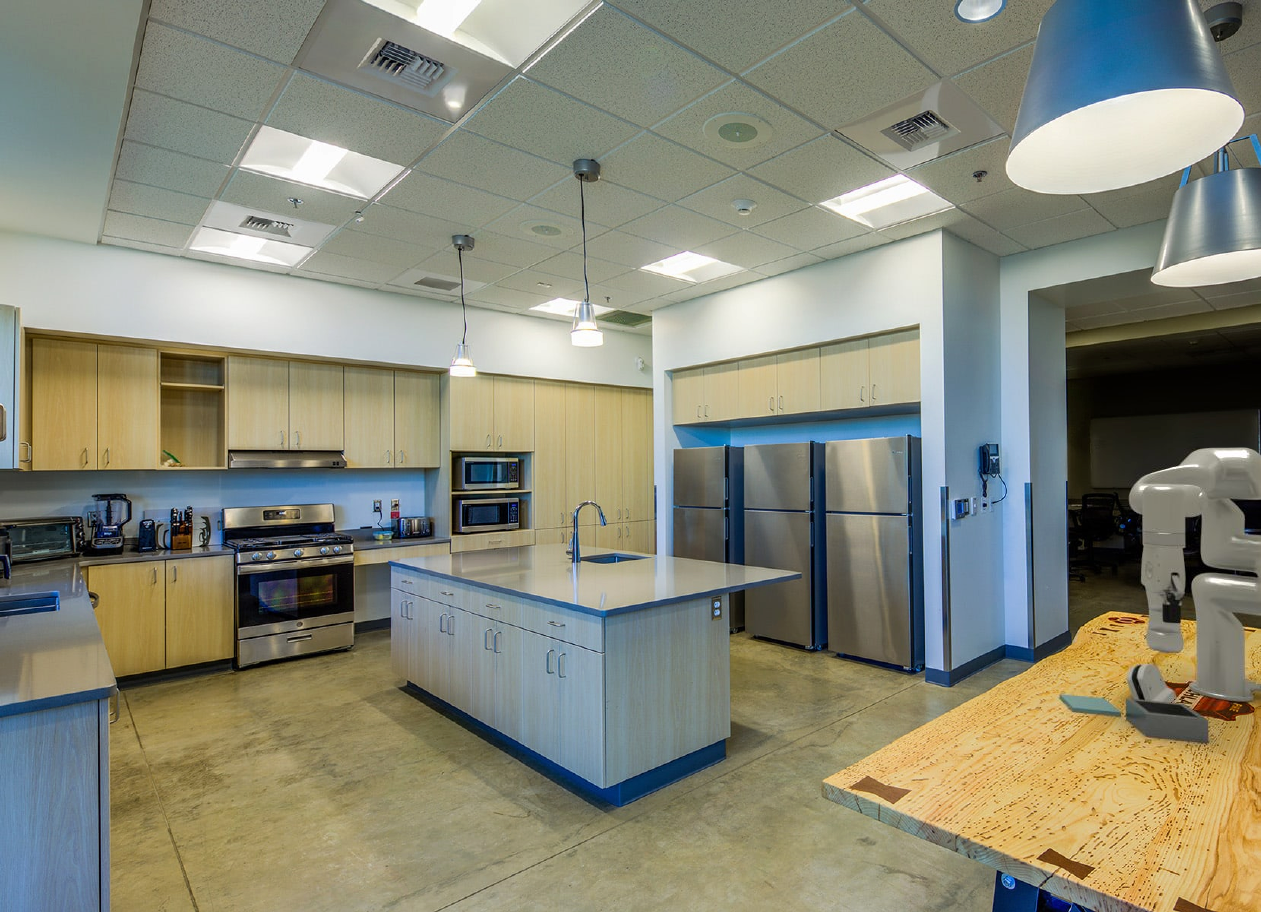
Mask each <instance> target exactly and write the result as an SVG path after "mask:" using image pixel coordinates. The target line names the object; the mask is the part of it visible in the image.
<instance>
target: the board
mask: <svg viewBox="0 0 1261 912" xmlns="http://www.w3.org/2000/svg"><path fill="white" fill-rule="evenodd" d="M1058 695H1059V699H1060V700H1061V701H1062V702H1063V703H1064V704H1065V705H1066V706H1067V708H1069V709H1070V710H1071V711H1072V712H1074V713H1080V714H1081V713H1082V714H1091V715H1092V714H1093V715H1100V716H1102V715H1103V716H1111V717H1120V718H1121V717H1122V712H1121V711H1120V710H1119V708H1117V707H1115V705H1113V704H1112V703H1111V702H1110V701H1108V700H1107V699H1106V698H1103V697H1097V696H1096V697H1094V696H1093V697H1091V696H1084V695H1083V696H1082V695H1073V694H1064V693H1063V694H1062V693H1061V694H1060V693H1059V694H1058Z"/></svg>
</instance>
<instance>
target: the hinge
mask: <svg viewBox="0 0 1261 912" xmlns="http://www.w3.org/2000/svg"><path fill="white" fill-rule="evenodd" d="M1125 679H1126V682H1127V685H1128V688H1129V691H1130V693H1131V696H1132V699H1139V700H1150V701H1160V702H1172V703H1174V701H1175V700H1176V699H1177V695H1176V692H1175V690H1174V689H1171V688H1169V687H1168V686H1167V684H1166V682H1165V680H1164V678H1163V675H1162V673H1161V670H1160V668H1159V667H1158V666H1157V665H1156V664H1153V663H1143V664H1136V665H1133V666H1130V668H1129V669H1128V671H1127V673H1126V677H1125ZM1174 699H1175V700H1174Z"/></svg>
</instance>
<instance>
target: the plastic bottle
mask: <svg viewBox="0 0 1261 912" xmlns="http://www.w3.org/2000/svg"><path fill="white" fill-rule="evenodd" d="M1144 587H1145V593H1146V597H1147V604H1148V606H1147V607H1149V611H1148V623H1147V625H1148V626H1147V630H1146V634H1145V640H1146V644H1147V646H1148V647H1149V649H1150V650H1153V651H1157V652H1160V653H1164V654H1179V653H1181V652H1182V651H1183V649H1184V645H1185V644H1184V643H1185V642H1184V636H1183V634H1182V629H1181V623H1165V622H1163V609H1162V604H1165V603H1164V597H1163V591H1156V590H1154V589H1153V586H1152V583H1151V582H1150V581H1149V580H1148V581H1147V582H1146V585H1145V586H1144ZM1166 590H1172V591H1174V588H1167V589H1166ZM1168 596H1169V597H1170V596H1171V594H1168Z"/></svg>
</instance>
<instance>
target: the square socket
mask: <svg viewBox="0 0 1261 912" xmlns="http://www.w3.org/2000/svg"><path fill="white" fill-rule="evenodd" d="M1125 720H1126V721H1127V722H1128V723H1129V724H1130V725H1131V726H1133V727H1134V728H1135V729H1137V730H1138V732H1140V733H1141V734H1142V735H1143V736H1145V737H1146V738H1154V739H1162V740H1163V739H1164V740H1174V741H1181V742H1191V743H1199V744H1200V743H1202V744H1209V719H1207V718H1206V717H1204V716H1203V715H1201V714H1200V713H1198V712H1197V711H1195V710H1194V709H1192V708H1191V707H1190V706H1188V705H1186V704H1185V703H1181V702H1180V703H1179V702H1172V703H1171V702H1160V701H1150V700H1139V699H1133V698H1128V697H1127V698H1126V697H1125Z"/></svg>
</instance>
